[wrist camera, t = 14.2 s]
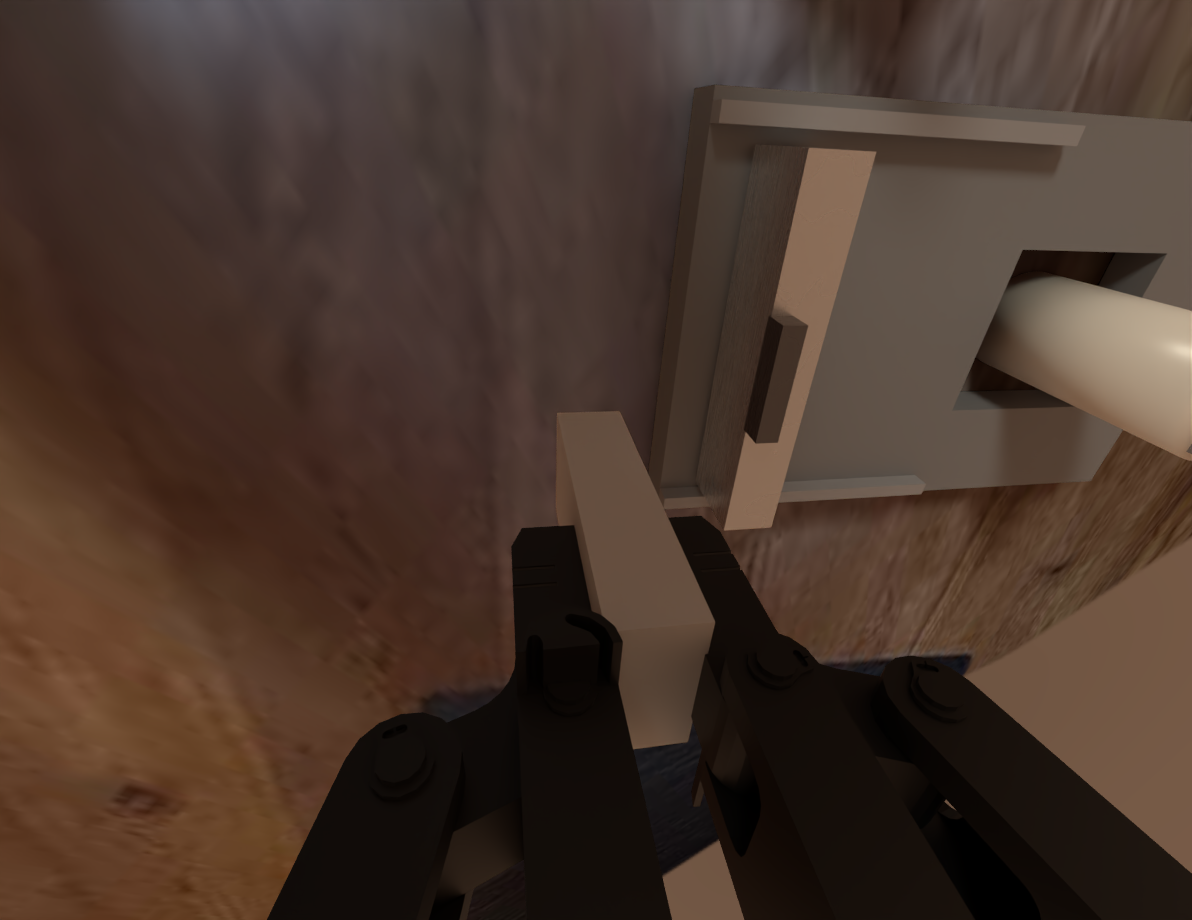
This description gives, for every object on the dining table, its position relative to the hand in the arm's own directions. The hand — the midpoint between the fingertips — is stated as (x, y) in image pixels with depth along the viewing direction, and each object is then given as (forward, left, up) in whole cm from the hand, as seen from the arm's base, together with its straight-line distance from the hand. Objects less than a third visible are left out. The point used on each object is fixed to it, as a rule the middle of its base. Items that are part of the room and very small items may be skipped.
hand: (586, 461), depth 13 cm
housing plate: (+17, 0, -10) cm, 20 cm away
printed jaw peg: (+22, 0, -10) cm, 24 cm away
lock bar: (+7, 0, -8) cm, 11 cm away
